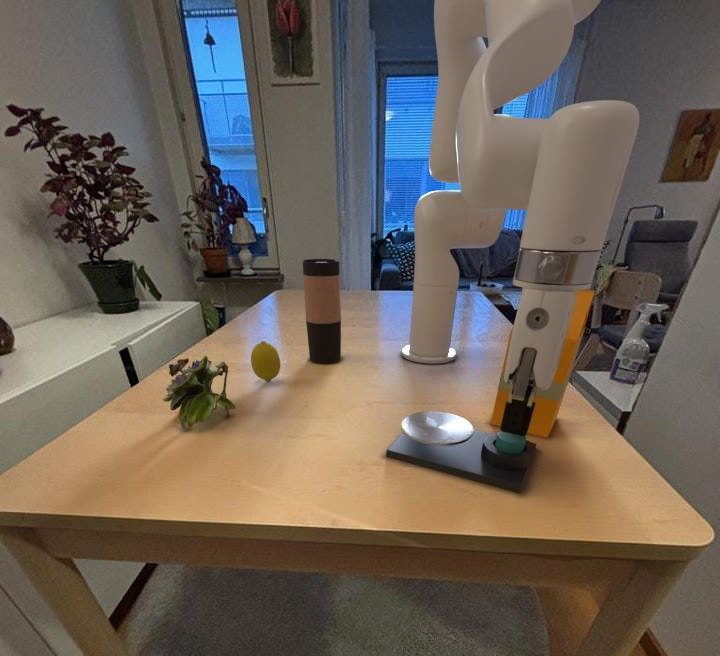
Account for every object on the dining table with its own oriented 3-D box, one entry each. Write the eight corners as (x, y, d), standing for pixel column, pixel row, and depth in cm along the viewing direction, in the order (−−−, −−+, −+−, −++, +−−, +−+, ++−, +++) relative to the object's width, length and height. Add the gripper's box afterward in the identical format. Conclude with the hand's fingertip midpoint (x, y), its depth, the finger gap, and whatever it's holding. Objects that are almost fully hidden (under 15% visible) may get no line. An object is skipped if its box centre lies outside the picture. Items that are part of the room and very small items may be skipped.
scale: (417, 423, 64) (419, 406, 62) (536, 451, 56) (542, 432, 55) (385, 457, 55) (386, 438, 53) (521, 494, 48) (527, 474, 46)
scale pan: (416, 408, 61) (417, 406, 61) (481, 422, 57) (481, 420, 57) (389, 435, 54) (390, 432, 54) (461, 453, 50) (461, 450, 50)
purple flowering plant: (197, 438, 70) (194, 372, 71) (252, 433, 68) (249, 364, 68) (149, 429, 59) (146, 351, 60) (213, 422, 57) (209, 340, 57)
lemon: (276, 388, 76) (271, 346, 71) (249, 386, 77) (242, 344, 72) (286, 378, 80) (282, 338, 76) (261, 376, 81) (255, 336, 77)
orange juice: (547, 438, 60) (592, 294, 48) (489, 424, 63) (518, 288, 52) (556, 419, 65) (598, 286, 54) (503, 407, 69) (532, 280, 58)
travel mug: (302, 361, 89) (294, 261, 78) (318, 352, 95) (313, 258, 84) (333, 366, 87) (329, 263, 76) (347, 356, 93) (345, 259, 81)
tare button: (498, 439, 54) (500, 427, 53) (525, 445, 53) (528, 433, 52) (492, 450, 51) (494, 438, 50) (520, 457, 50) (524, 445, 49)
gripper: (591, 281, 33) (536, 466, 43) (597, 265, 44) (551, 415, 54) (500, 275, 36) (468, 449, 46) (527, 261, 47) (496, 405, 57)
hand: (513, 431), depth 50 cm, fingers closed
